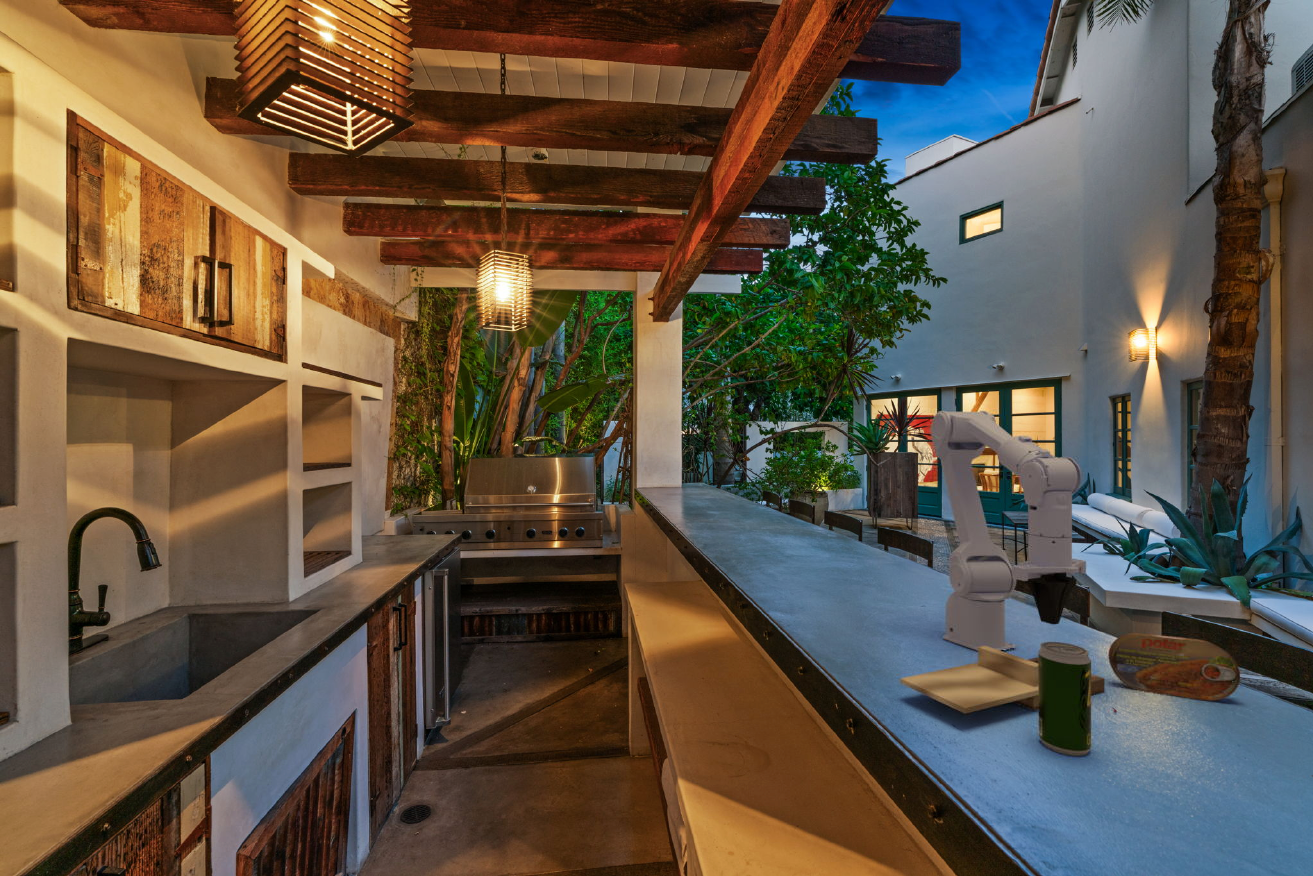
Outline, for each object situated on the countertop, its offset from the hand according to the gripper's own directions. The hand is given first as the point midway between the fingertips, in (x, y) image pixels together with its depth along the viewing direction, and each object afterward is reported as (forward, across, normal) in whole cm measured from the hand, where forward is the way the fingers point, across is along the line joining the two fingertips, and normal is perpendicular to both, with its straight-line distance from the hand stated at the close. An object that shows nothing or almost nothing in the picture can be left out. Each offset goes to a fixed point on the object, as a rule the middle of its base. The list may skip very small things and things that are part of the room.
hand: (1049, 622), depth 95 cm
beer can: (+10, -18, -14) cm, 25 cm away
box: (+9, -4, -1) cm, 10 cm away
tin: (+10, +13, -10) cm, 19 cm away
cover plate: (+7, -18, -1) cm, 19 cm away
